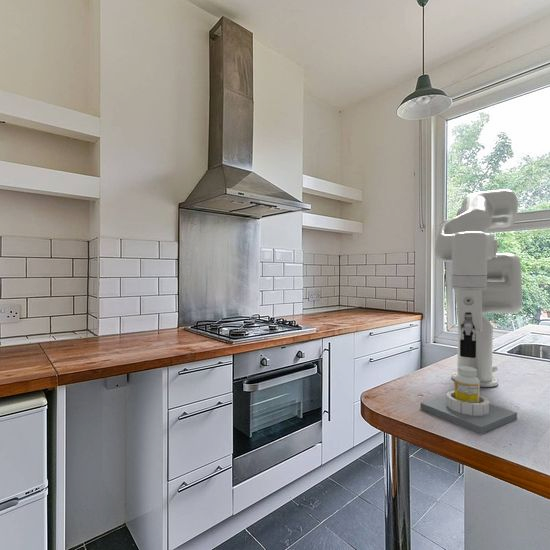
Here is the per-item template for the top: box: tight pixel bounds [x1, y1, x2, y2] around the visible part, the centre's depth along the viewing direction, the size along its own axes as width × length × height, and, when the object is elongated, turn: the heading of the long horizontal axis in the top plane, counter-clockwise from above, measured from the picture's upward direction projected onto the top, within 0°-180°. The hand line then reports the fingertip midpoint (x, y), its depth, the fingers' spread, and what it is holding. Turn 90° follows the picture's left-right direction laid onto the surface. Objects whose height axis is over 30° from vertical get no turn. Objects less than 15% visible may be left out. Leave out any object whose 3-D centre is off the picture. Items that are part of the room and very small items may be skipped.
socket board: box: [419, 390, 518, 435], centre depth 82 cm, size 15×15×4 cm
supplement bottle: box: [454, 366, 481, 403], centre depth 82 cm, size 5×5×10 cm
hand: (468, 351), depth 82 cm, fingers open, 9 cm apart
